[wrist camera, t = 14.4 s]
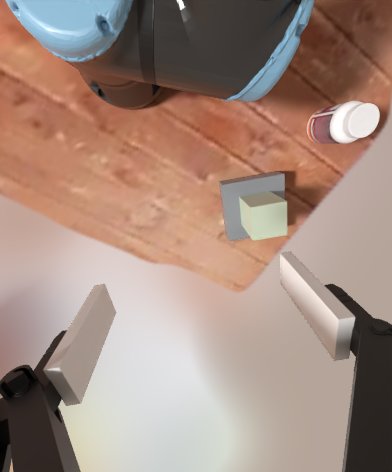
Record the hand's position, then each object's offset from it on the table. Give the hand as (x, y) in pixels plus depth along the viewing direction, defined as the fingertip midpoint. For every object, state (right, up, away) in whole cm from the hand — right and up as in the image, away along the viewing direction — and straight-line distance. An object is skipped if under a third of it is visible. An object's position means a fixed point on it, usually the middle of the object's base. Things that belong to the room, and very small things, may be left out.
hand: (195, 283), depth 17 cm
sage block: (+12, +9, +28) cm, 32 cm away
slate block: (+12, +11, +32) cm, 36 cm away
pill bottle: (+24, +25, +27) cm, 44 cm away
